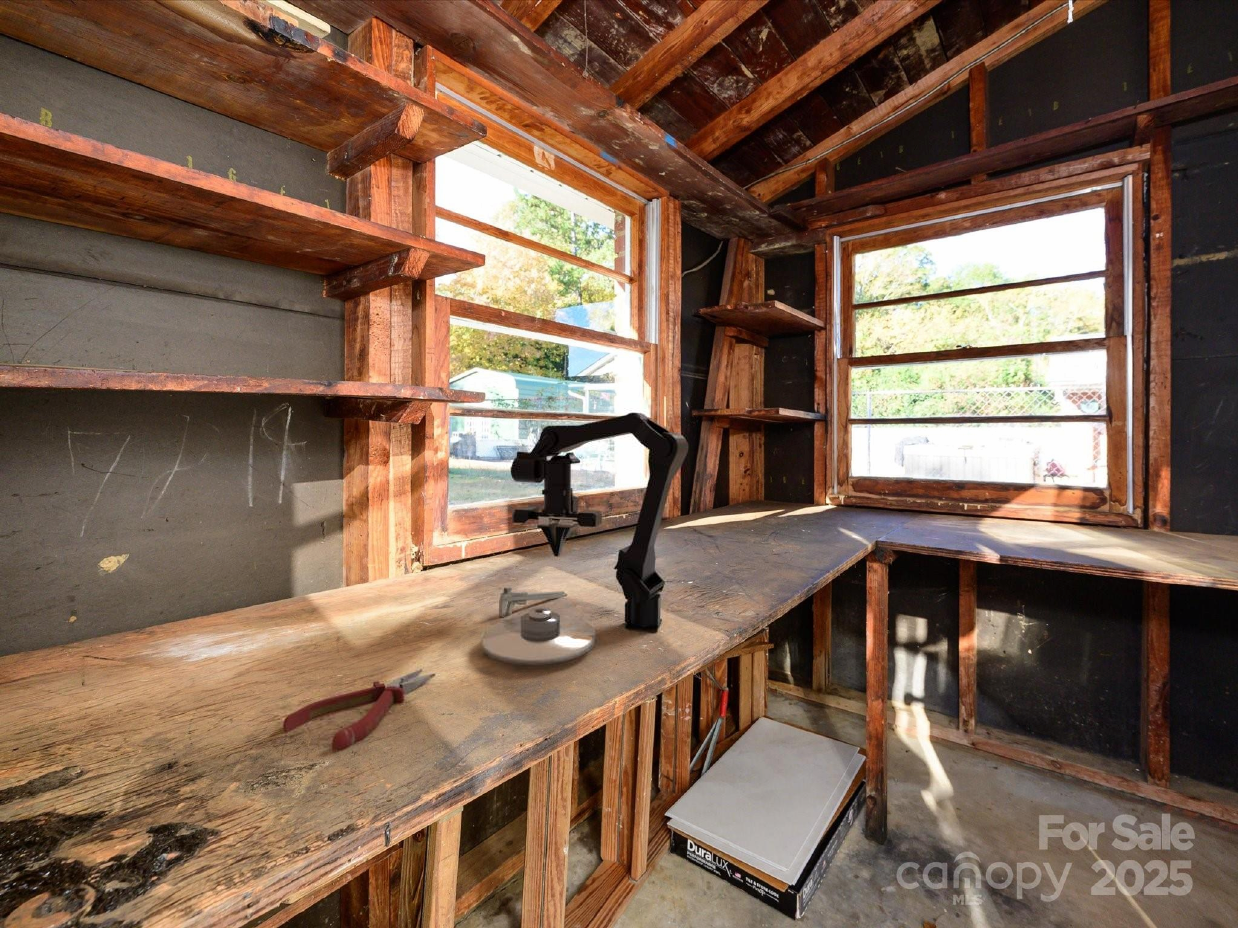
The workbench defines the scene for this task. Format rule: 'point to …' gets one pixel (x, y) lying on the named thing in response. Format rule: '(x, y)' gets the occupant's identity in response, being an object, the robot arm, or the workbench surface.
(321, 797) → the workbench surface
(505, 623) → the turntable
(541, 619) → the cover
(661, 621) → the robot arm
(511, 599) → the caliper
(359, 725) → the pliers
